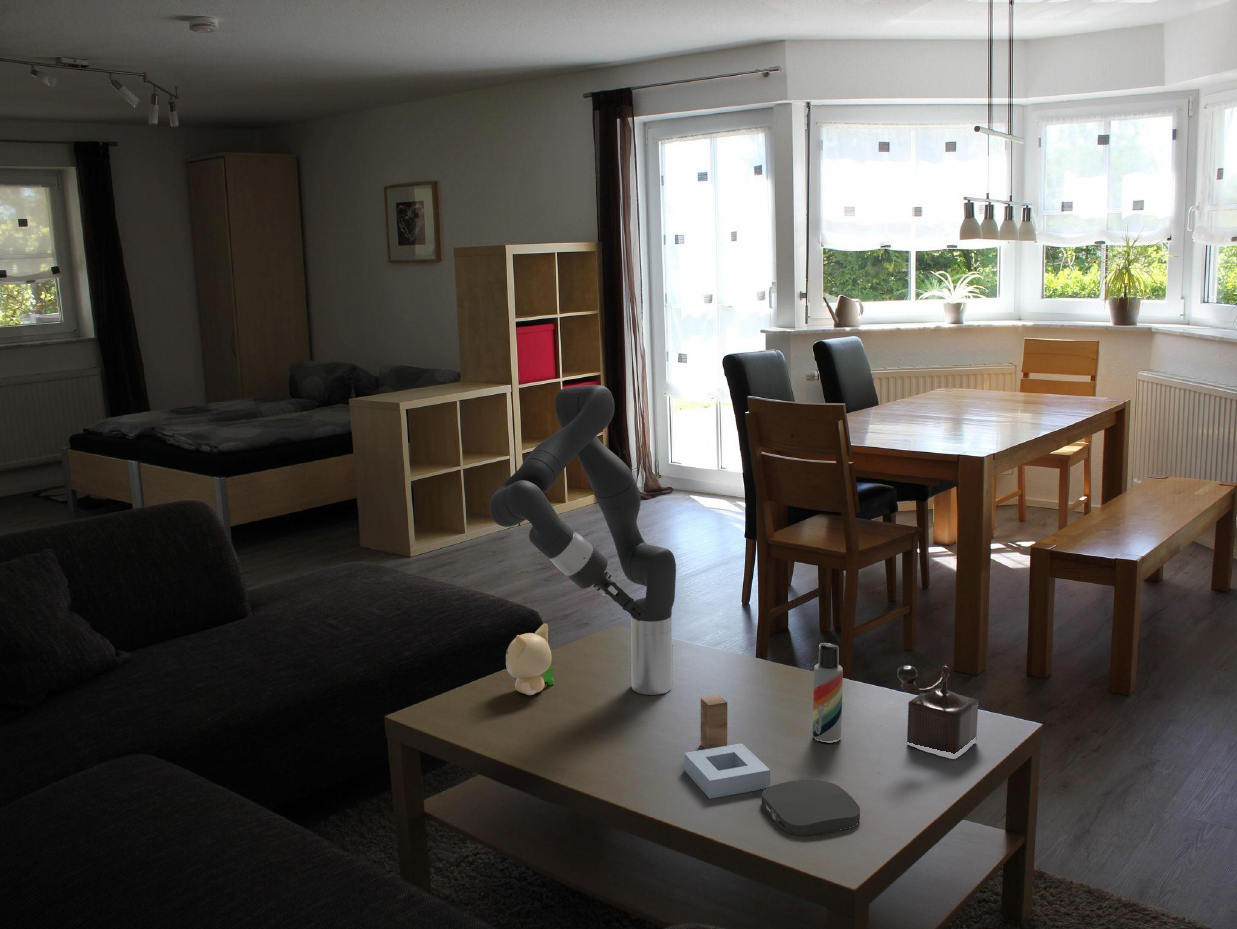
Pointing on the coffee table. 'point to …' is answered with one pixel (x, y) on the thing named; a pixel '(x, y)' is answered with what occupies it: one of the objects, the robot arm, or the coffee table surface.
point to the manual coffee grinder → (938, 714)
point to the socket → (726, 770)
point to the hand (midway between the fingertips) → (635, 610)
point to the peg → (713, 722)
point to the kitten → (530, 661)
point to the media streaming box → (810, 807)
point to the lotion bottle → (827, 694)
